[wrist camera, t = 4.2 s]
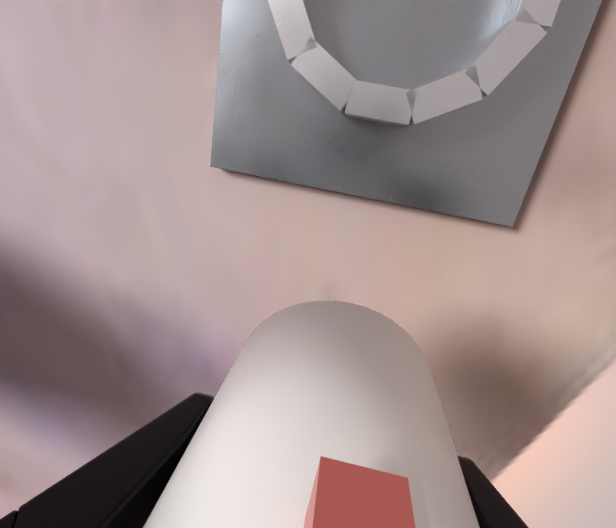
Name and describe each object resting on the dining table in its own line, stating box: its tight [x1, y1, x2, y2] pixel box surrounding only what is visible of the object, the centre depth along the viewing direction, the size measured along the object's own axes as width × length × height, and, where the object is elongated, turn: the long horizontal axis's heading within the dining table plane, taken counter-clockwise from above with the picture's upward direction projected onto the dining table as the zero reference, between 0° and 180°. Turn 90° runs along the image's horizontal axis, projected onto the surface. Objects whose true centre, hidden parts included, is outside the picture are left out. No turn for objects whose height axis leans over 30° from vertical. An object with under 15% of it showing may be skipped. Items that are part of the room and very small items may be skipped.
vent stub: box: [143, 301, 480, 528], centre depth 6 cm, size 6×5×7 cm
